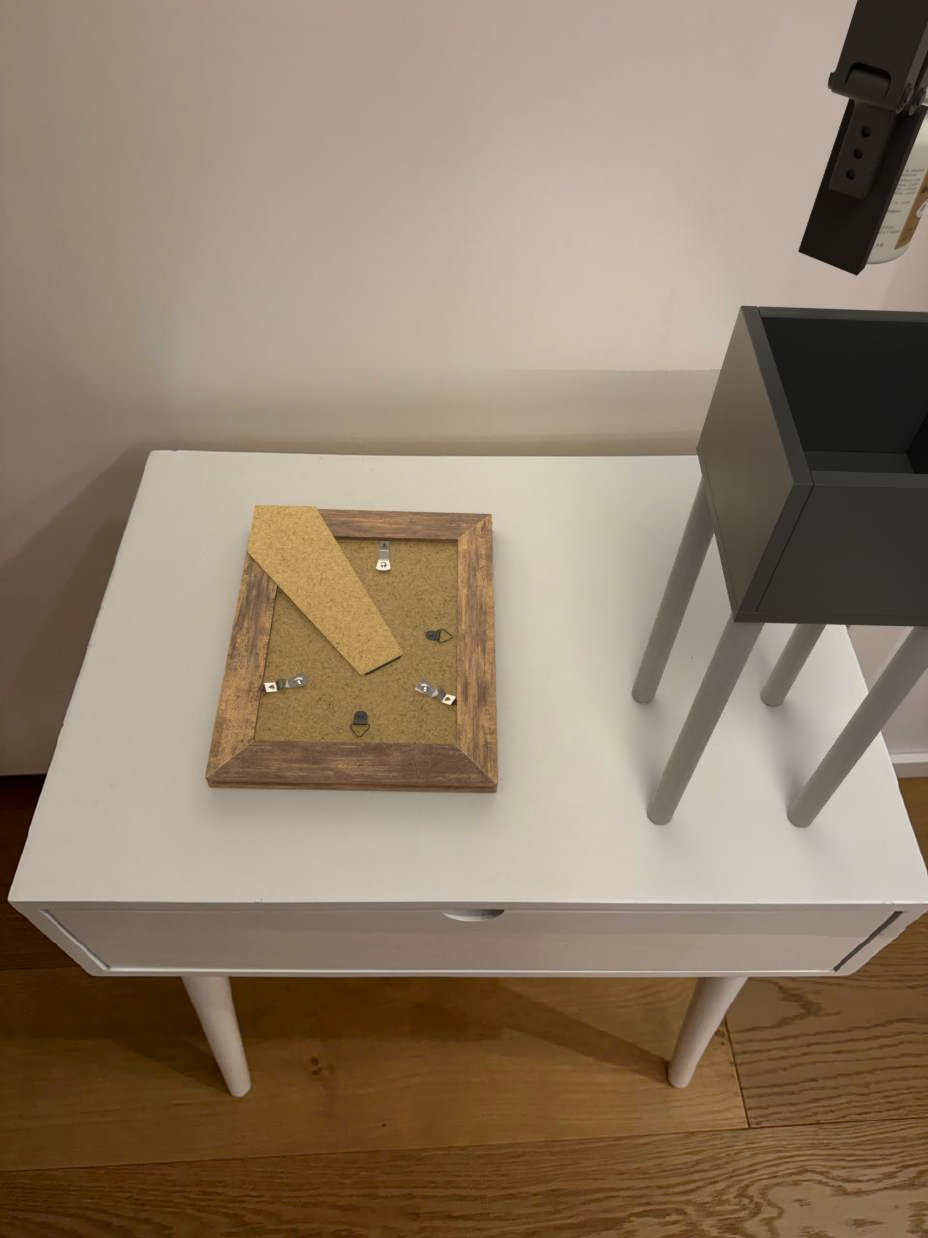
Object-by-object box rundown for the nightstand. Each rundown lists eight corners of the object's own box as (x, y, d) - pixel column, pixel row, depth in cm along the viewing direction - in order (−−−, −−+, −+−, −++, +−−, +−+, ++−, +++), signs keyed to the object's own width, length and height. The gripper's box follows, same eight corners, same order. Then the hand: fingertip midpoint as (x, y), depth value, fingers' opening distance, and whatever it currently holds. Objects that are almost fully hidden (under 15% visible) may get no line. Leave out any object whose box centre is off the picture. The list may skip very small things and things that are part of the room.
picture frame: (257, 520, 76) (208, 789, 62) (254, 504, 74) (203, 775, 60) (490, 527, 77) (496, 794, 62) (492, 511, 75) (498, 781, 61)
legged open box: (785, 683, 68) (989, 313, 44) (822, 834, 61) (1090, 492, 37) (624, 680, 68) (740, 304, 44) (642, 831, 61) (794, 484, 37)
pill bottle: (919, 269, 40) (1006, 74, 34) (816, 266, 40) (885, 70, 34) (890, 215, 43) (966, 26, 37) (793, 212, 43) (854, 22, 37)
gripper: (1139, -644, 29) (862, 138, 47) (907, -694, 20) (678, 287, 39) (1424, -639, 26) (1012, 190, 44) (1295, -694, 17) (849, 364, 36)
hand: (857, 234), depth 41 cm, fingers closed on pill bottle, 4 cm apart
